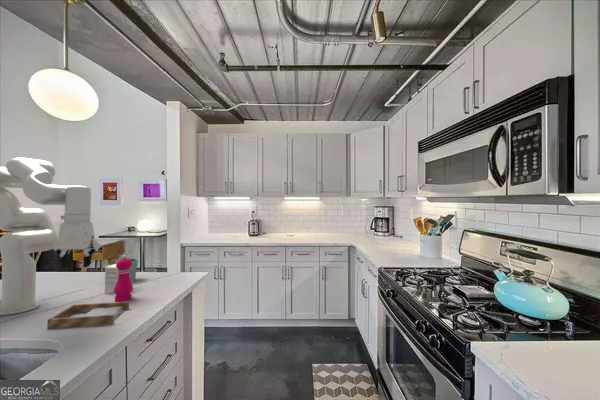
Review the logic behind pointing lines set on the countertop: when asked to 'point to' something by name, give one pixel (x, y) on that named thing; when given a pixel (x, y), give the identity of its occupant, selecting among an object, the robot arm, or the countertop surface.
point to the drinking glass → (132, 269)
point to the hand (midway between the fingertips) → (76, 266)
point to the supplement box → (110, 278)
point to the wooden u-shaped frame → (66, 321)
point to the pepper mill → (123, 280)
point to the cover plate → (105, 311)
